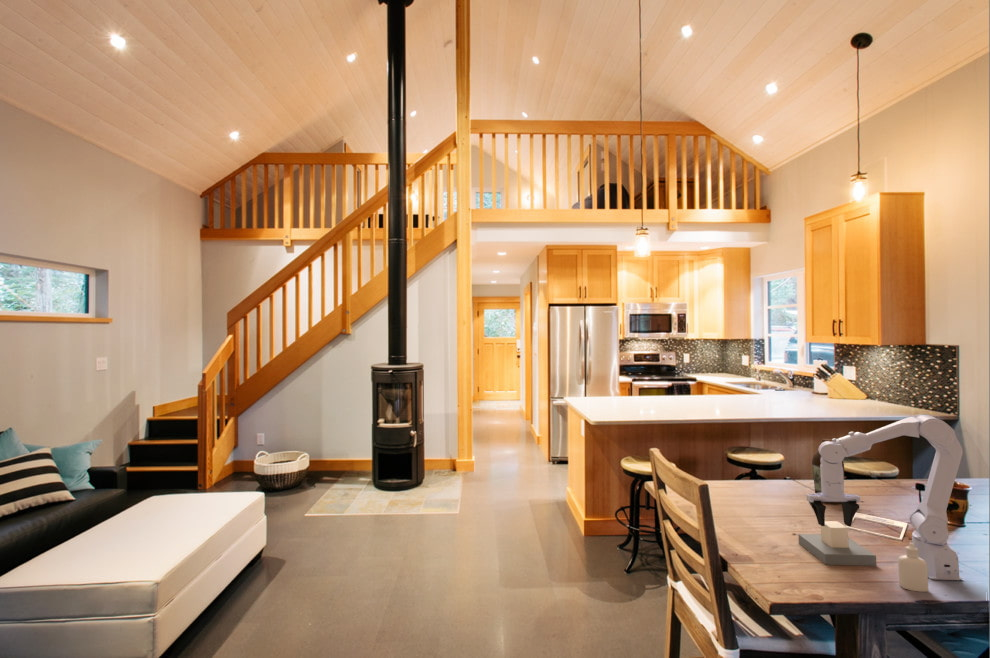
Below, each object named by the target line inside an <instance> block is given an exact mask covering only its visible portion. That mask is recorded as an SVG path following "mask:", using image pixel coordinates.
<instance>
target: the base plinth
mask: <svg viewBox="0 0 990 658" xmlns="http://www.w3.org/2000/svg"><path fill="white" fill-rule="evenodd" d="M848 539H849V548H832V547H830V546H829V545H827V544H826V543H824V542H823V541H822V540H821V533H820V534H817V533H816V534H815V533H814V534H813V533H798V544H799V545H801V546H802V547H803V548H804V549H805V550H807V551H808V552H809V553H810V554H812V555H813V556H814V557H816V558H817V559H818V560H819V561H821V563H823V564H824V565H827V566H829V565H836V566H837V565H838V566H874V567H876V566H877V554H874V553H873V552H871V551H870V550H868V549H867V548H866V547H864V546H862V545H861V544H859V543H858V542H856V541H855V540H853V539H852V538H850V537H848Z"/></svg>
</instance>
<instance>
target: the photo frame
mask: <svg viewBox="0 0 990 658" xmlns="http://www.w3.org/2000/svg"><path fill="white" fill-rule="evenodd" d="M855 519H858V520H862V521H865V522H871V523H876V524H880V525H885V526H888V527H889V526H890V527H895V528H898V527H899V528H900V529H902V530H901V533H900V536H899V537H896V536H892V535H886V534H883V533H879V532H874V531H870V530H867V529H866V530H865V529H859V528H857V527H852V526H851V527H849V526H847V525H845V526H846V527H847V528H848V530H853V531H856V532H857V531H858V532H861V533H866V534H869V535H870V534H871V535H875V536H880V537H882V538H883V537H884V538H887V539H893V540H896V541H900V540H901V541H900V542H902V541H903V539H904V536H905V534H906V530H907V527H908V525H909V524H908V522H903V521H899V520H894V519H890V518H885V517H879V516H875V515H870V514H867V513H860V512H856V513H855V515H854V517H853V520H852V523H853V522H854V521H855Z"/></svg>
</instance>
